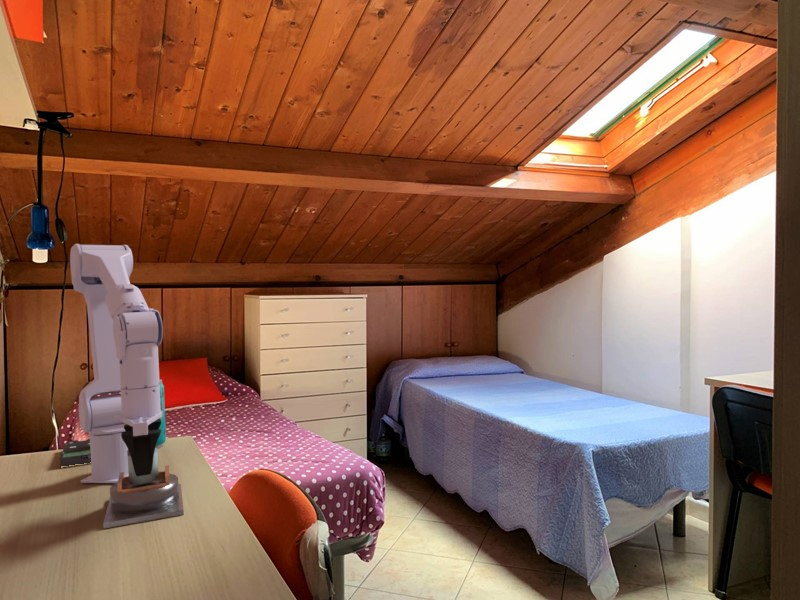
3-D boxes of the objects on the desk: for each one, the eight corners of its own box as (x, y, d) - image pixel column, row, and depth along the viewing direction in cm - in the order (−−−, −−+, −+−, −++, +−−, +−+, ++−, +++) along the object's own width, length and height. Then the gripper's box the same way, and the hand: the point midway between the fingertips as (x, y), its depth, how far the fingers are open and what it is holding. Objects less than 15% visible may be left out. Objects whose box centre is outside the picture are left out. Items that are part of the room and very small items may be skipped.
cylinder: (129, 477, 91) (127, 447, 91) (159, 473, 93) (157, 443, 93) (128, 486, 87) (126, 454, 87) (158, 481, 89) (157, 449, 89)
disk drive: (65, 454, 126) (60, 471, 113) (64, 441, 126) (59, 457, 113) (117, 446, 131) (117, 462, 117) (116, 434, 130) (117, 448, 117)
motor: (110, 499, 94) (109, 468, 94) (180, 488, 99) (179, 458, 98) (103, 528, 82) (101, 492, 82) (183, 514, 87) (182, 480, 87)
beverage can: (141, 452, 122) (138, 383, 122) (136, 446, 127) (133, 380, 127) (169, 447, 126) (166, 380, 126) (162, 442, 130) (160, 377, 130)
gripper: (115, 382, 95) (119, 461, 95) (108, 396, 82) (112, 488, 82) (160, 378, 98) (164, 455, 98) (160, 391, 85) (164, 480, 85)
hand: (144, 470), depth 90 cm, fingers closed on cylinder, 4 cm apart
